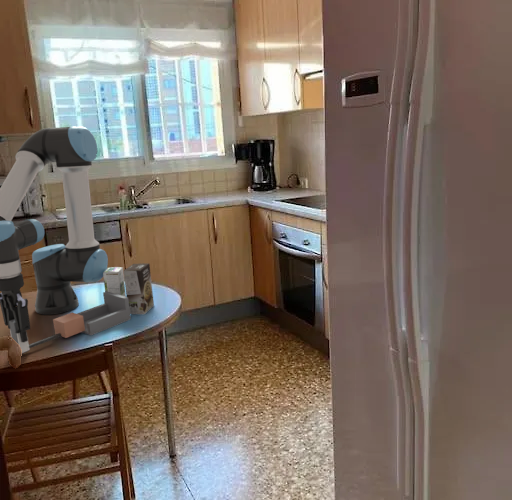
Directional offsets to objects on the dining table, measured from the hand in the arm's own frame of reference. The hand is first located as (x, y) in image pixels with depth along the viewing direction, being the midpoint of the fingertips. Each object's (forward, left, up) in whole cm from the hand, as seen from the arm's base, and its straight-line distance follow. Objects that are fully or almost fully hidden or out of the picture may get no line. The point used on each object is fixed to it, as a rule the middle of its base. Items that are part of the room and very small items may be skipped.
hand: (21, 349), depth 165 cm
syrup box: (-8, +41, -2) cm, 42 cm away
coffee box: (+2, +44, -2) cm, 44 cm away
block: (0, +9, -1) cm, 9 cm away
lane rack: (0, +28, -2) cm, 28 cm away
